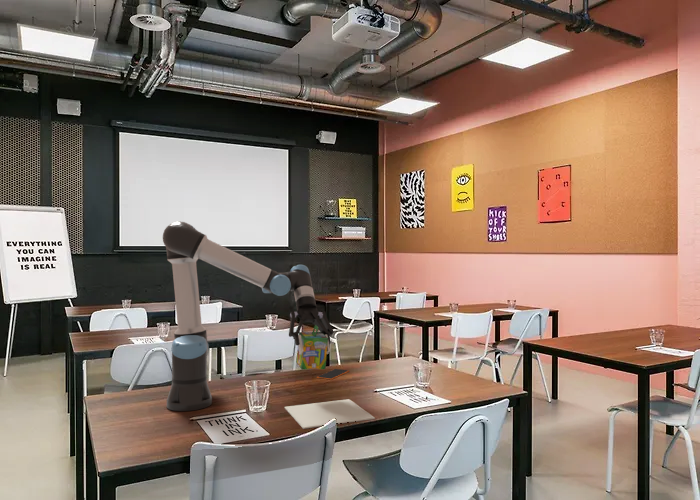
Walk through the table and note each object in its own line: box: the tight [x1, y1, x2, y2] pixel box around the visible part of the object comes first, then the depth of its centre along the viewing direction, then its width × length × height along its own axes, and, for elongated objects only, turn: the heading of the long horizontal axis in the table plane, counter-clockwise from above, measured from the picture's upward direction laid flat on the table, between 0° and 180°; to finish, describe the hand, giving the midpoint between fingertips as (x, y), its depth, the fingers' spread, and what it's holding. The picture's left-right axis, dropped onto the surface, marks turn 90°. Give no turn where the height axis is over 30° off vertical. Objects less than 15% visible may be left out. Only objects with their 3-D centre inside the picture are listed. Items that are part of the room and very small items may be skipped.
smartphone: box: [316, 368, 350, 381], centre depth 221 cm, size 8×17×1 cm, turn 153°
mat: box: [284, 398, 376, 430], centre depth 168 cm, size 24×22×1 cm
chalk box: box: [295, 325, 328, 371], centre depth 184 cm, size 9×9×15 cm
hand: (315, 352), depth 181 cm, fingers closed on chalk box, 9 cm apart
